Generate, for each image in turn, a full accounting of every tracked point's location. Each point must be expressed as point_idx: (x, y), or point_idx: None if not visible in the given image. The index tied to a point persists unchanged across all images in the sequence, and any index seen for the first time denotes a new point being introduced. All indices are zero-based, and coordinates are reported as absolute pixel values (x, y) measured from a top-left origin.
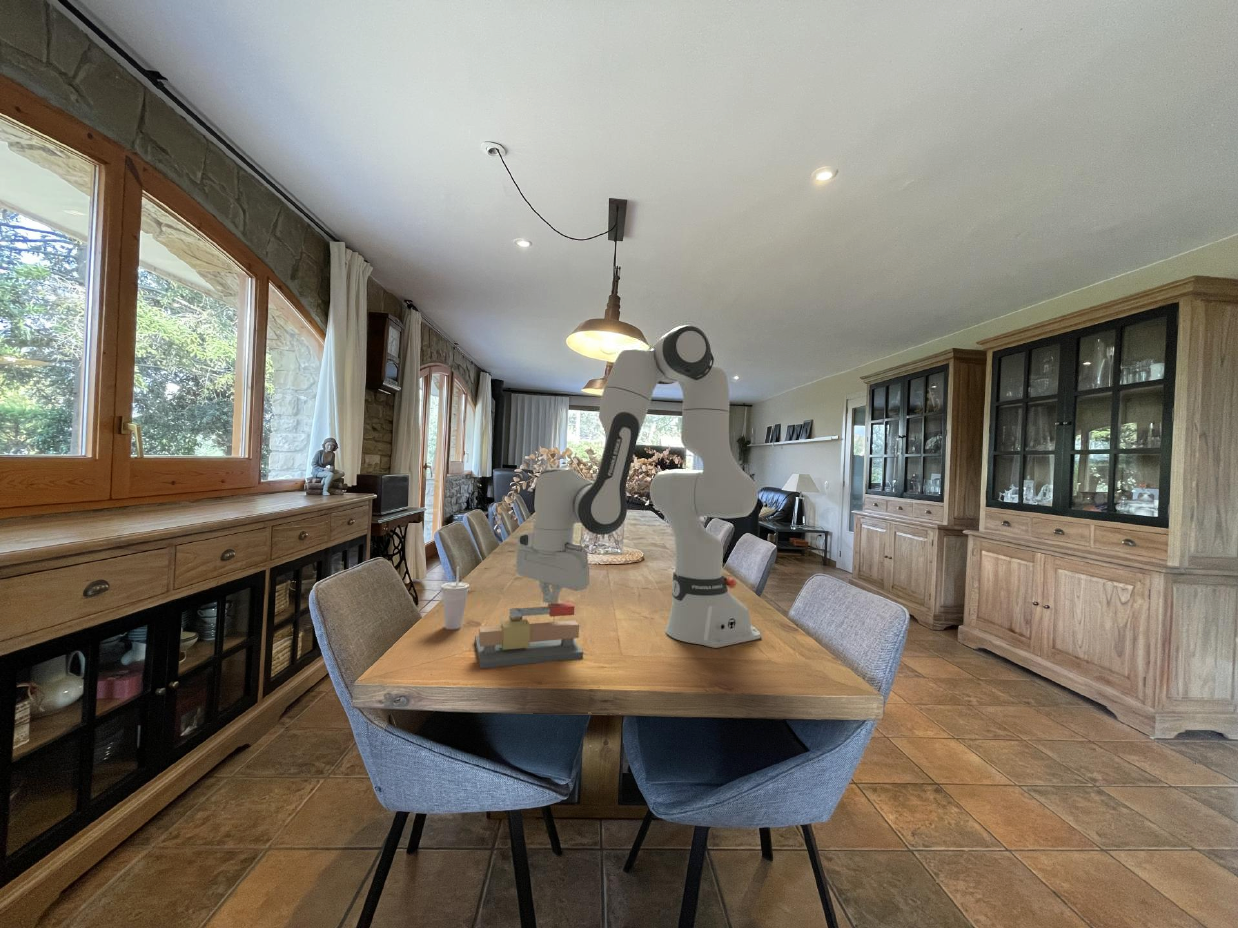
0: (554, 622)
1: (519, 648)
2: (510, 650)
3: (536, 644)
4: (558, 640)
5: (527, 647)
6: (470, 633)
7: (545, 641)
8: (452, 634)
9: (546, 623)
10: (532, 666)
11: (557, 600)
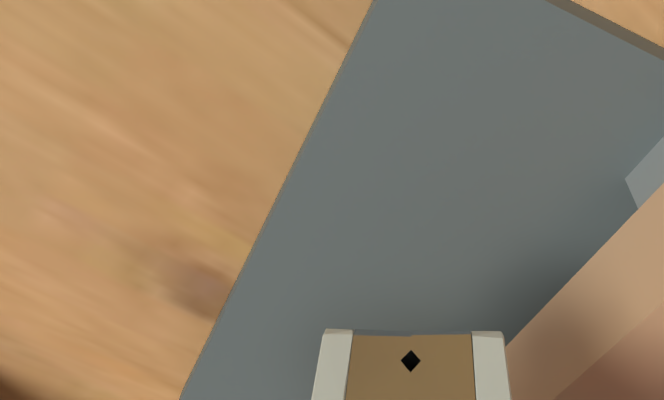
0: (628, 348)
1: None
2: None
3: (509, 303)
4: (579, 170)
5: None
6: (50, 348)
7: (515, 241)
8: (31, 397)
9: (588, 396)
10: None
11: (504, 349)
